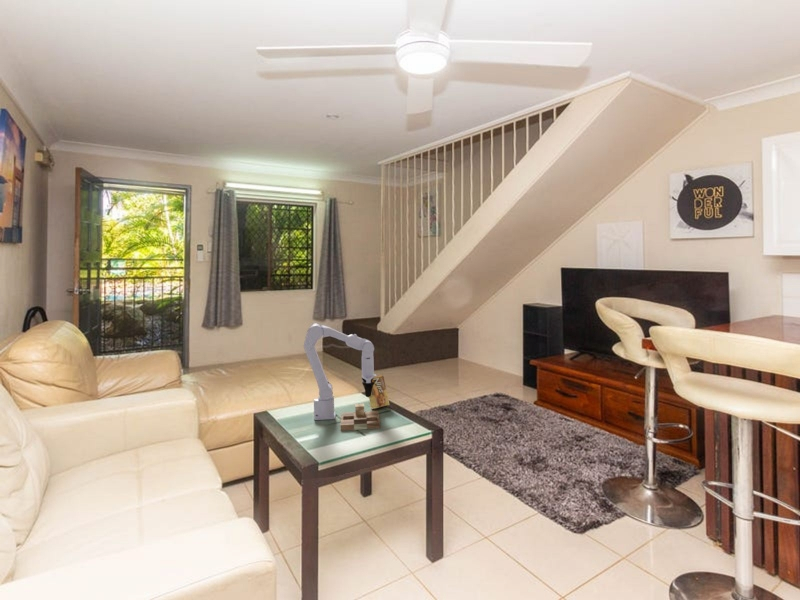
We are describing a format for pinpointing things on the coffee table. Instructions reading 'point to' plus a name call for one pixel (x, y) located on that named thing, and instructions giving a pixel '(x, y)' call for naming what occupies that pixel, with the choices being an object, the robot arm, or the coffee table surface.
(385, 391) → the candy box
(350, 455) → the coffee table surface
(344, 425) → the board
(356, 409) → the block
